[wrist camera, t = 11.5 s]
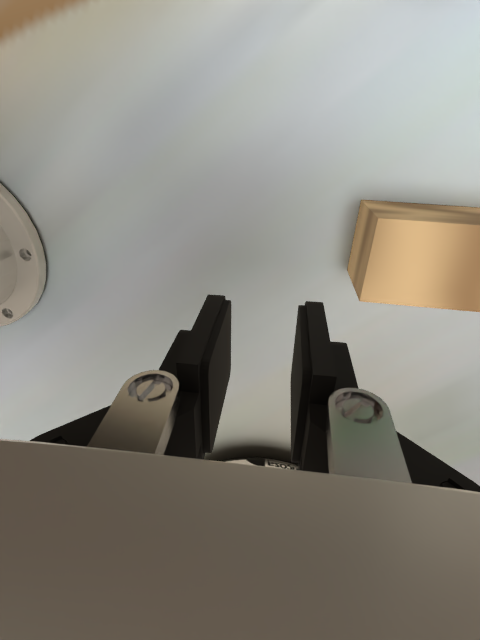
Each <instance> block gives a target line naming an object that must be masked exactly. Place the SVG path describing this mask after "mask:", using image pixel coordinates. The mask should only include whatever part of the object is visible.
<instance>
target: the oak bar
mask: <svg viewBox="0 0 480 640" xmlns="http://www.w3.org/2000/svg"><path fill="white" fill-rule="evenodd" d="M347 271H348V273H349V276H350V278H351V281H352V283H353V286H354V288H355V291H356V294H357V296H358V299H359V301H362V302H374V303H385V304H396V305H407V306H418V307H430V308H441V309H452V310H463V311H474V312H480V208H478V207H463V206H448V205H433V204H418V203H403V202H388V201H373V200H361V203H360V208H359V213H358V218H357V223H356V228H355V233H354V238H353V243H352V248H351V254H350V259H349V264H348V269H347Z"/></svg>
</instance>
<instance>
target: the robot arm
mask: <svg viewBox="0 0 480 640" xmlns="http://www.w3.org/2000/svg"><path fill="white" fill-rule="evenodd" d="M45 281H46V261H45V256H44V251H43V247H42V244H41V241H40V239H39V236H38V233H37V231H36V229H35V227H34V225H33V224H32V222H31V220H30V218H29V216H28V215H27V213H26V212H25V210H24V209H23V208H22V206H21V205H20V204H19V203H18V201H17V200H16V199H15V197H14V196H13V195H12V194H11V193H10V192H9V191H8V190H7V189H6V188H5V187H4V186H3V185H2V184H1V183H0V326H4V325H8V324H10V323H12V322H15V321H17V320H19V319H20V318H21V317H23V316H24V315H25V314H27V313H28V312H30V311H31V309H32V308H33V307H34V306H35V305H36V304H37V303H38V301H39V299H40V297H41V295H42V293H43V290H44V286H45ZM230 369H231V300H226V299H225V296H221V295H208V296H207V298H206V300H205V302H204V304H203V307H202V309H201V311H200V313H199V315H198V317H197V319H196V321H195V324H194V326H193V328H192V330H191V331H188V330H180V331H179V332H178V334H177V336H176V338H175V340H174V342H173V344H172V346H171V348H170V349H169V351H168V353H167V355H166V357H165V359H164V361H163V363H162V365H161V366H160V368H159V370H150V371H145V372H141V373H139V374H136V375H134V376H132V377H131V378H129V379H128V380H127V381H126V382H125V383H124V385H123V386H122V388H121V389H120V391H119V393H118V395H117V396H116V398H115V400H114V401H113V403H112V405H110V406H108V407H106V408H103V409H101V410H98V411H96V412H94V413H91V414H89V415H86V416H84V417H82V418H79V419H77V420H74V421H72V422H70V423H67V424H65V425H63V426H60V427H58V428H55V429H53V430H51V431H48V432H46V433H43V434H41V435H39V436H37V437H35V438H33V439H32V440H30V441H22V440H8V439H0V640H480V486H479V485H477V484H476V483H475V482H473V481H472V480H470V479H469V478H467V477H466V476H464V475H463V474H461V473H459V472H458V471H456V470H455V469H453V468H452V467H450V466H449V465H447V464H446V463H444V462H443V461H441V460H440V459H438V458H437V457H435V456H433V455H432V454H430V453H429V452H427V451H426V450H424V449H423V448H421V447H420V446H418V445H417V444H415V443H414V442H412V441H410V440H409V439H407V438H406V437H404V436H403V435H401V434H400V433H398V432H397V431H396V430H395V426H394V423H393V420H392V416H391V413H390V410H389V408H388V406H387V404H386V403H385V402H384V401H383V400H382V399H381V398H380V397H378V396H376V395H375V394H373V393H371V392H369V391H366V390H363V389H358V385H357V381H356V377H355V374H354V370H353V366H352V362H351V358H350V354H349V350H348V347H347V344H346V343H341V342H330V338H329V332H328V327H327V322H326V316H325V311H324V306H323V302H308V301H306V302H305V306H303V305H299V307H298V316H297V325H296V334H295V343H294V353H293V362H292V371H291V462H296V463H298V470H292V469H283V468H274V467H266V466H257V465H248V464H239V463H230V462H221V461H212V460H203V459H204V456H205V452H206V453H212V450H213V445H214V441H215V437H216V433H217V428H218V424H219V420H220V416H221V411H222V407H223V403H224V399H225V394H226V390H227V386H228V382H229V377H230Z"/></svg>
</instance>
